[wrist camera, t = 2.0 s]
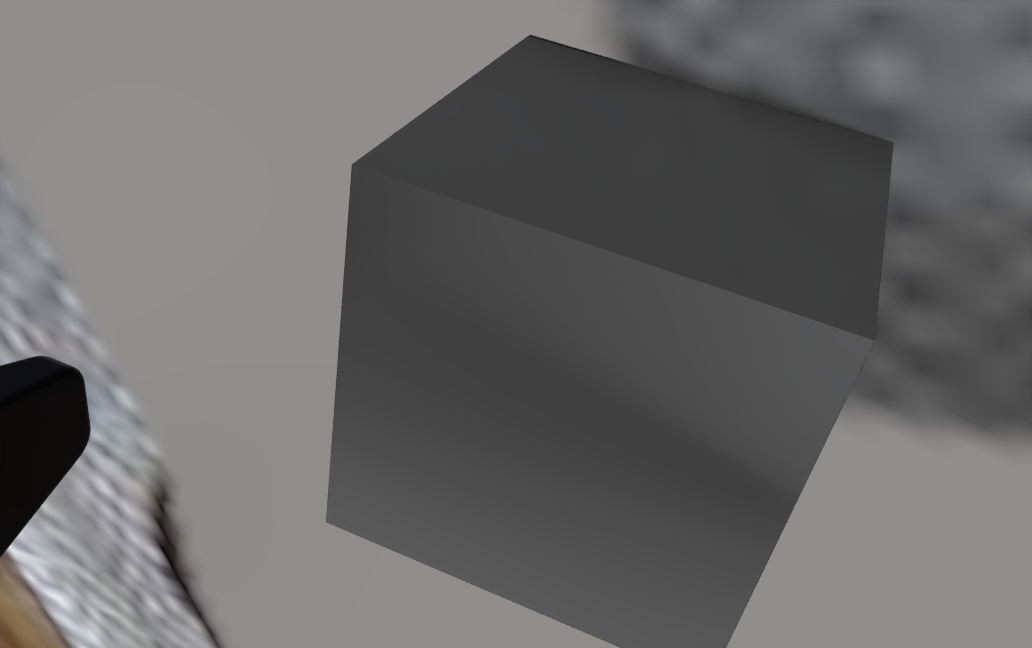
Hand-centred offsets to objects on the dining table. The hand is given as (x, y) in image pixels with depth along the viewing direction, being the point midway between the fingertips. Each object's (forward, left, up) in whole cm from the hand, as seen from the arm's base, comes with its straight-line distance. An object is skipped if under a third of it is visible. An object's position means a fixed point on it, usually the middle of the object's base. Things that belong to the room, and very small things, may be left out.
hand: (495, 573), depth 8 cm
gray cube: (0, 0, -7) cm, 7 cm away
